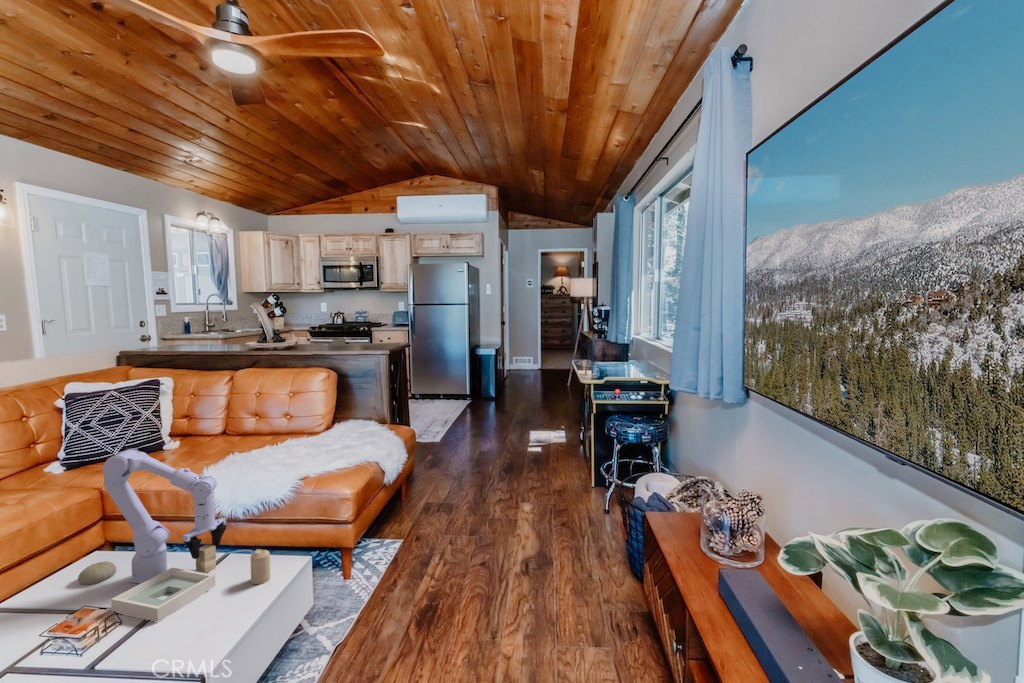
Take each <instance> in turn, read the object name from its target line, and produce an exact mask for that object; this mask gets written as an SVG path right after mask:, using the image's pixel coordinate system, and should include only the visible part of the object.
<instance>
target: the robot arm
mask: <svg viewBox="0 0 1024 683" xmlns="http://www.w3.org/2000/svg"><path fill="white" fill-rule="evenodd" d="M101 470H102V472H103V486H104V489H105V490H106V491H107V493H108V494H109V496H110V497H111V499H112V500H113V502H114V504H115V505H116V507H117V508H118V510H119V512H120V513H121V514H122V516H123V517H124V520H126V522H127V524H128V525H129V526H130V528H131V530H132V533H133V534H132V538H131V540H132V542H133V545H134V552H135V553H134V555H133V556H132V559H131V579H129V581H128V582H130V583H133V584H138V585H139V584H141V583H143V582H145V581H147V580H149V579H151V578H153V577H155V576H157V575H159V574H161V573H163V572H164V571H166V570H168V558H167V557H168V556H167V555H168V554H167V553H168V552H167V551H168V550H167V549H168V548H167V544H166V542H167V541H168V540H169V539H170V531H169V529H168V528H167V527H165V526H163V525H162V524H161V523H160V521H157V520H153V518H152V517H151V515H150V514H149V512H148V511H147V509H146V508H145V506H144V505H143V503H142V502H141V500H140V498H139V497H138V495H137V493H136V492H135V490H134V489H133V487H132V486H131V484H130V483H129V478H130V476H131V474H132V473H135V472H140V471H145V472H148V473H151V474H153V475H156V476H159V477H163V478H165V479H168V480H169V483H170V485H172V486H174V487H175V488H180V489H182V490H183V491H187V492H189V493H190V494H191V496H192V497H193V499H194V501H193V502H194V528H192V529H191V530H190V531H188V532H187V533H185V534H183V535H182V542H183V543H184V544H185V546H186V547H187V549H188V551H189V553H190V555H191V558H192V559H193V560H196V559H198V558H199V548H201V543H202V539H201V538H199V537H198V536H200V535H202V534H204V533H207V532H210V536H211V545H213V546H216V549H219V548H220V545H221V541H222V538H223V536H224V533H225V532H226V530H227V525H225V524H227V517H220V518H216V507H215V506H216V504H215V503H216V502H215V500H216V499H215V490H216V488H217V480H216V479H215V478H214V477H212V476H211V475H207V476H205V475H204V474H200V475H199V474H198V473H195V472H193V471H191V469H190V468H188V467H186V468H184V467H181V468H177V469H176V468H174V467H172V466H170V465H168V464H166V463H164V462H162V461H160V460H157V459H155V458H154V457H151V456H150V455H149V454H147V453H146V452H144V451H139V450H138V449H136V448H127V449H125V450H123V451H122V452H120V453H117V454H115V455H113V456H110V457H108V458H107V459H106V460H105V462H104V463H103V465H102V467H101Z"/></svg>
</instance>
